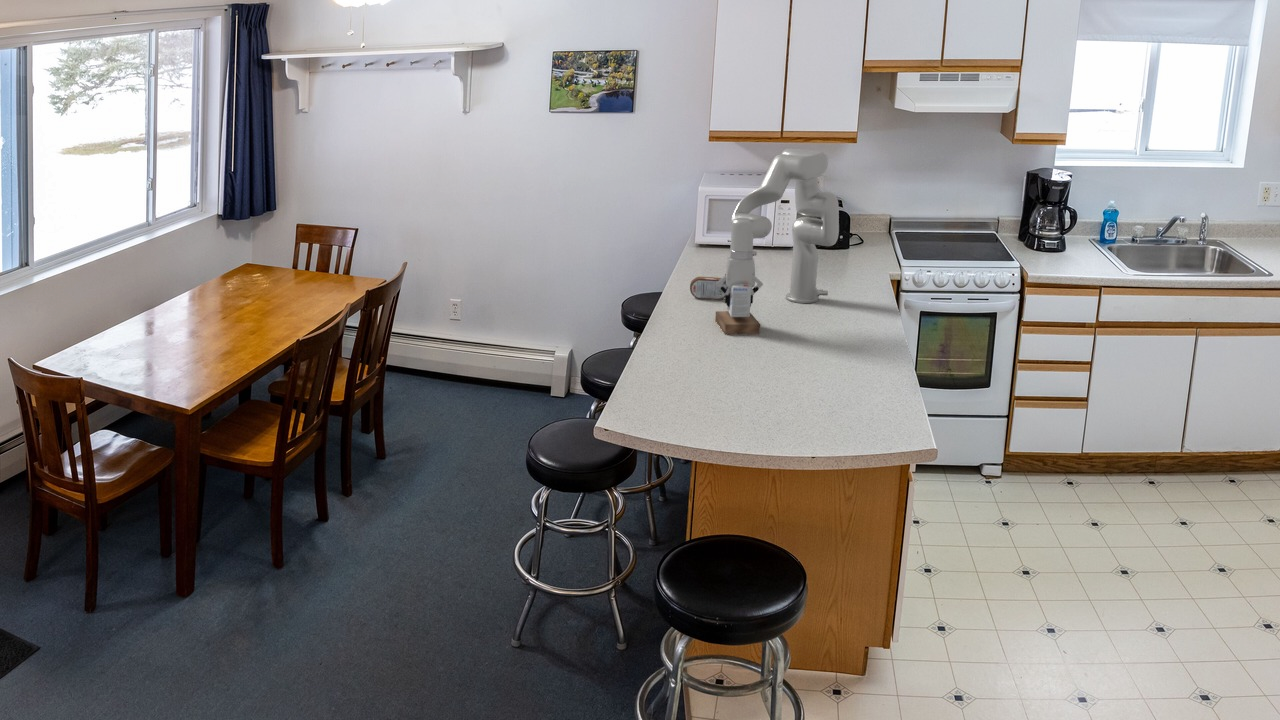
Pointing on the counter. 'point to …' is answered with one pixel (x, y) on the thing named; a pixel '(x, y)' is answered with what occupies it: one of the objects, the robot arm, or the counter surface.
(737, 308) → the light bulb box
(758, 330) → the walnut block
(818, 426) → the counter surface
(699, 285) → the tin
